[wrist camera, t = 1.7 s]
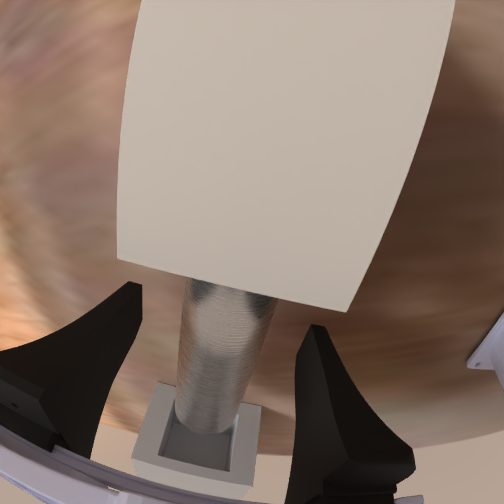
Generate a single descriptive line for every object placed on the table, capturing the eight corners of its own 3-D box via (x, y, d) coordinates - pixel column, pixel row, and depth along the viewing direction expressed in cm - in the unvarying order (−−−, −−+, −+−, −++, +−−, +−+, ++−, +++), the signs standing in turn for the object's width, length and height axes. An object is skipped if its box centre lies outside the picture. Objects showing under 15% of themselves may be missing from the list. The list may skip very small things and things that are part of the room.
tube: (362, -29, 7) (391, -63, 4) (239, 391, 19) (231, 440, 16) (260, -53, 7) (249, -97, 4) (182, 377, 19) (168, 426, 16)
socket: (261, 406, 22) (252, 486, 17) (247, 435, 25) (238, 502, 20) (157, 381, 22) (130, 457, 17) (158, 414, 25) (138, 479, 19)
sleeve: (380, 13, 9) (459, -28, 4) (324, 208, 14) (346, 312, 8) (226, -23, 9) (171, -94, 3) (186, 176, 14) (117, 258, 8)
